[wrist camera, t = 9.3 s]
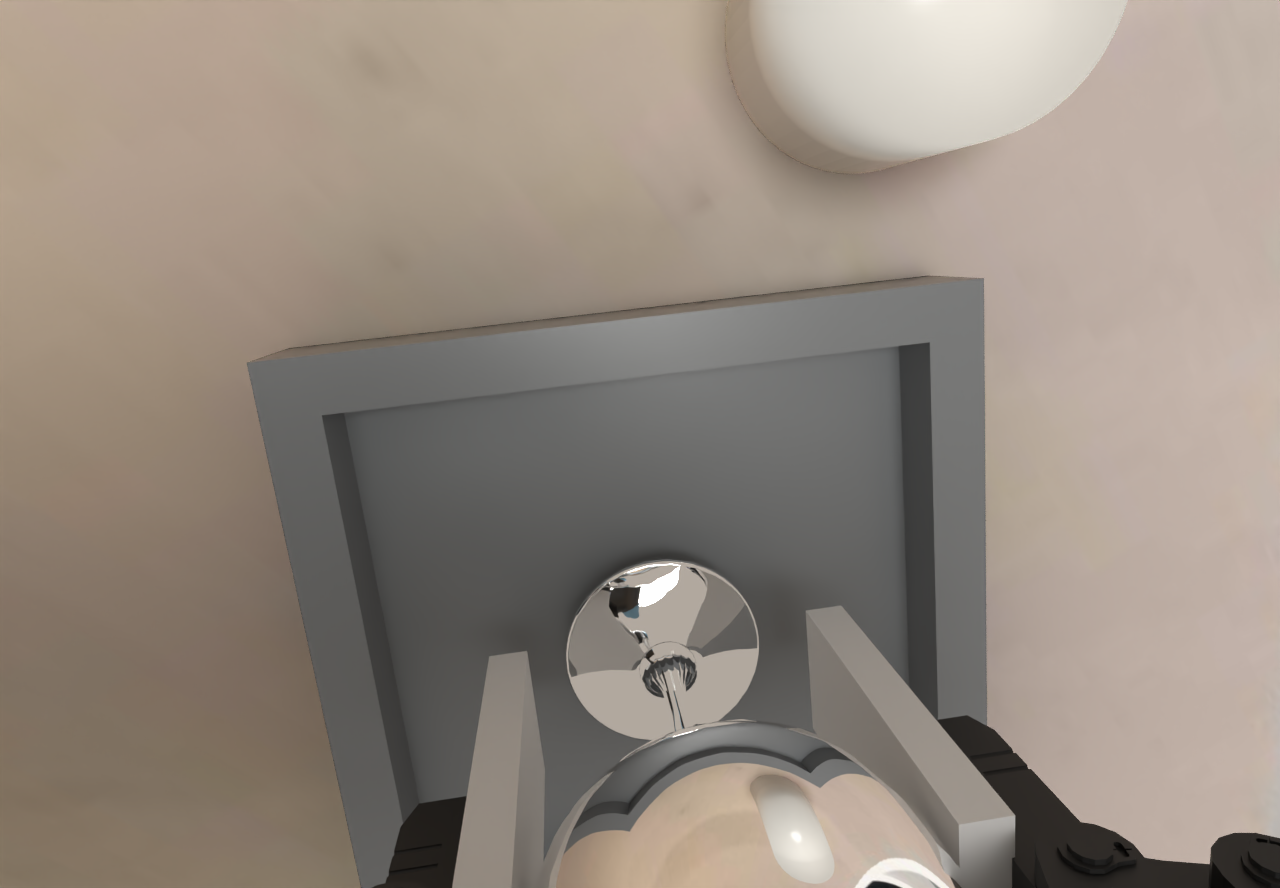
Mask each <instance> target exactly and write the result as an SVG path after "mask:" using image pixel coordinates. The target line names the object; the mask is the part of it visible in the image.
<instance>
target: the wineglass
mask: <svg viewBox="0 0 1280 888" xmlns="http://www.w3.org/2000/svg"><path fill="white" fill-rule="evenodd" d="M759 654H760V635H759V630H758V626H757V621H756V618H755V615H754V613H753V611H752V609H751V606H750V604H749V603H748V601H747V600H746V598H745V597H744V595H743V594H742V592H741V591H740V590H739V589H738V588H737V587H736V586H735V585H734V584H733V583H732V582H731V581H729V580H728V579H727V578H726V577H724V576H723V575H721V574H720V573H718V572H716V571H715V570H712V569H710V568H707V567H705V566H702V565H699V564H697V563H694V562H689V561H682V560H673V559H663V560H654V561H645V562H642V563H639V564H636V565H633V566H630V567H627V568H624V569H622V570H620V571H619V572H617V573H615V574H613V575H612V576H610V577H609V578H607V579H605V580H604V581H602V582H601V583H600V584H599V585H598V586H597V587H596V588H595V589H594V590H593V591H592V592H591V593H590V594H589V595H588V596H587V597H586V598H585V600H584V601H583V603H582V604H581V606H580V607H579V609H578V610H577V611H576V613H575V615H574V618H573V620H572V623H571V625H570V628H569V630H568V633H567V640H566V646H565V663H566V672H567V675H568V679H569V682H570V685H571V688H572V690H573V692H574V693H575V695H576V697H577V699H578V701H579V702H580V703H581V705H582V706H583V707H584V709H585V710H586V711H587V712H588V713H589V714H590V715H591V716H592V717H593V718H594V719H595V720H597V721H598V722H599V723H601V724H602V725H603V726H605V727H607V728H608V729H610V730H612V731H614V732H616V733H618V734H621V735H623V736H627V737H630V738H634V739H639V740H645V741H650V742H648V743H646V744H644V745H643V746H641V747H639V748H638V749H636V750H634V751H633V752H631V753H629V754H628V755H626V756H624V757H623V758H621V759H620V760H619V761H617V762H616V763H615V764H614V765H613V766H611V767H610V768H609V769H608V770H607V771H606V772H604V773H603V774H602V775H601V776H600V777H599V778H597V779H596V780H595V782H594V783H593V784H592V785H591V786H590V787H589V788H588V789H587V790H586V791H585V793H584V794H583V795H582V796H581V797H580V799H579V800H578V801H577V802H576V804H575V805H574V806H573V807H572V809H571V810H570V812H569V813H568V815H567V816H566V818H565V819H564V821H563V822H562V824H561V826H560V828H559V829H558V831H557V833H556V835H555V836H554V838H553V841H552V843H551V845H550V848H549V850H548V852H547V855H546V857H545V859H544V862H543V864H542V867H541V869H540V872H539V876H538V880H537V883H536V887H535V888H971V887H970V885H969V883H968V881H967V879H966V878H965V876H964V874H963V873H962V871H961V869H960V868H959V866H958V864H957V863H956V861H955V860H954V858H953V857H952V855H951V854H950V852H949V851H948V849H947V848H946V846H945V845H944V843H943V842H942V840H941V839H940V838H939V836H938V835H937V834H936V833H935V831H934V830H933V829H932V827H931V826H930V825H929V824H928V822H927V821H926V820H925V818H924V817H923V816H922V814H921V813H920V812H919V811H918V810H917V809H916V808H915V807H914V806H913V805H912V804H911V803H910V802H909V801H908V800H907V799H906V798H905V797H904V796H903V795H902V794H901V793H900V792H899V791H898V790H897V789H896V788H895V787H894V786H893V785H892V784H891V783H890V782H889V781H888V780H887V779H886V778H885V777H884V776H883V775H882V774H881V773H880V772H879V771H877V770H876V769H874V768H873V767H872V766H870V765H869V764H867V763H866V762H865V761H863V760H862V759H860V758H859V757H857V756H856V755H854V754H853V753H851V752H850V751H848V750H847V749H845V748H844V747H842V746H841V745H839V744H837V743H835V742H833V741H832V740H829V739H827V738H824V737H822V736H819V735H816V734H814V733H811V732H809V731H806V730H803V729H801V728H797V727H792V726H788V725H784V724H780V723H775V722H770V721H759V720H747V719H737V720H727V721H720V720H722V719H723V718H724V717H725V716H726V715H728V714H729V713H730V712H731V711H732V710H733V709H734V708H735V707H736V706H737V704H738V703H739V702H740V701H741V699H742V698H743V697H744V695H745V694H746V692H747V690H748V689H749V687H750V685H751V683H752V681H753V678H754V675H755V673H756V669H757V665H758V660H759Z"/></svg>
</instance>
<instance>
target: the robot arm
mask: <svg viewBox="0 0 1280 888" xmlns="http://www.w3.org/2000/svg"><path fill="white" fill-rule="evenodd" d="M806 625H807V641H808V657H809V673H810V689H811V705H812V721H813V729H814V731H815V732H816V734H817V735H819V736H822V737H824V738H827V739H829V740H832V741H833V742H835V743H837V744H839V745H841V746H842V747H844V748H845V749H847V750H848V751H850V752H851V753H853V754H854V755H856V756H857V757H859V758H860V759H862V760H863V761H865V762H866V763H867V764H869V765H870V766H872V767H873V768H874V769H876V770H877V771H879V772H880V773H881V774H882V775H883V776H884V777H885V778H886V779H887V780H888V781H889V782H890V783H891V784H892V785H893V786H894V787H895V788H896V789H897V790H898V791H899V792H900V793H901V794H902V795H903V796H904V797H905V798H906V799H907V800H908V801H909V802H910V803H911V804H912V805H913V806H914V807H915V808H916V809H917V810H918V811H919V812H920V813H921V814H922V816H923V817H924V818H925V820H926V821H927V822H928V824H929V825H930V826H931V827H932V829H933V830H934V831H935V833H936V834H937V835H938V836H939V838H940V839H941V840H942V842H943V843H944V845H945V846H946V848H947V849H948V851H949V852H950V854H951V855H952V857H953V858H954V860H955V861H956V863H957V864H958V866H959V868H960V869H961V871H962V873H963V874H964V876H965V878H966V879H967V881H968V883H969V885H970V887H971V888H1280V838H1276V837H1271V836H1267V835H1262V834H1258V833H1233V834H1230V835H1226V836H1223V837H1220V838H1218V840H1217V841H1216V842H1215V843H1214V845H1213V846H1212V847H1211V857H1210V864H1198V863H1186V862H1173V861H1161V860H1155V859H1148V858H1144V857H1143V855H1142V854H1141V853H1140V852H1139V851H1138V849H1137V848H1136V847H1135V846H1134V845H1133V844H1132V843H1131V842H1129V841H1128V840H1126V839H1125V838H1123V837H1122V836H1120V835H1119V834H1117V833H1116V832H1113V831H1111V830H1108V829H1105V828H1103V827H1100V826H1097V825H1095V824H1089V823H1082V822H1080V821H1079V820H1078V819H1077V818H1076V817H1075V816H1074V815H1073V814H1072V813H1071V812H1070V810H1069V809H1068V808H1067V807H1066V806H1065V805H1064V804H1063V803H1062V802H1061V801H1060V800H1059V799H1058V798H1057V797H1056V795H1055V794H1054V793H1053V792H1052V791H1051V790H1050V789H1049V788H1048V787H1047V786H1046V785H1045V784H1044V783H1043V782H1042V781H1041V779H1040V778H1039V777H1038V776H1037V775H1036V774H1035V773H1034V772H1033V771H1032V770H1031V769H1028V767H1027V764H1026V763H1025V762H1024V761H1023V760H1022V759H1021V758H1020V757H1019V756H1018V755H1017V754H1016V753H1013V751H1012V748H1011V747H1010V746H1009V745H1008V744H1007V743H1006V742H1005V741H1004V740H1003V739H1002V738H1001V737H1000V736H999V735H998V733H997V732H996V731H995V730H993V729H992V728H990V727H988V726H986V725H984V724H982V723H981V722H979V721H977V720H975V719H973V718H972V717H970V716H968V715H965V716H959V717H952V718H946V719H939V720H936V719H935V718H934V717H933V716H932V714H931V713H930V712H929V711H928V709H927V708H926V707H925V706H924V705H923V703H922V702H921V701H920V700H919V699H918V697H917V696H916V695H915V694H914V693H913V691H912V690H911V689H910V688H909V687H908V685H907V684H906V683H905V682H904V681H903V679H902V678H901V677H900V676H899V675H898V673H897V672H896V671H895V670H894V668H893V667H892V666H891V665H890V664H889V662H888V661H887V660H886V659H885V658H884V656H883V655H882V654H881V653H880V652H879V650H878V649H877V648H876V647H875V646H874V644H873V643H872V642H871V641H870V640H869V638H868V637H867V636H866V635H865V633H864V632H863V631H862V630H861V629H860V627H859V626H858V625H857V624H856V623H855V621H854V620H853V619H852V618H851V617H850V615H849V614H848V613H847V612H846V611H845V609H844V608H843V607H842V606H834V607H827V608H820V609H813V610H806ZM544 796H545V767H544V760H543V754H542V747H541V740H540V734H539V727H538V720H537V714H536V707H535V700H534V694H533V687H532V680H531V674H530V667H529V660H528V654H527V651H522V652H516V653H509V654H502V655H495V656H489V661H488V667H487V673H486V680H485V686H484V692H483V698H482V705H481V711H480V717H479V723H478V729H477V736H476V742H475V748H474V754H473V761H472V767H471V773H470V779H469V785H468V792H467V796H463V797H457V798H451V799H444V800H438V801H432V802H425V803H419V804H418V805H417V807H416V808H415V809H414V810H413V812H412V813H411V814H410V815H409V817H408V818H407V819H406V821H405V822H404V823H403V824H402V826H401V827H400V831H399V834H398V838H397V842H396V846H395V849H394V856H393V857H392V860H391V864H390V868H389V876H388V877H387V879H386V883H384V884H380V885H376V886H374V887H372V888H535V887H536V883H537V880H538V876H539V872H540V869H541V867H542V864H543V857H544Z"/></svg>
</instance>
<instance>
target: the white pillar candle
mask: <svg viewBox="0 0 1280 888" xmlns="http://www.w3.org/2000/svg"><path fill="white" fill-rule="evenodd" d="M1126 4H1127V0H728V4H727V11H726V21H725V46H726V54H727V61H728V66H729V70H730V74H731V78H732V81H733V84H734V87H735V89H736V92H737V94H738V97H739V99H740V101H741V103H742V105H743V107H744V109H745V110H746V112H747V114H748V116H749V117H750V118H751V120H752V121H753V123H754V124H755V125H756V127H757V128H758V129H759V131H760V132H761V133H762V134H763V135H764V136H765V137H766V138H767V139H768V140H769V141H770V142H771V143H772V144H773V145H775V146H776V147H777V148H778V149H780V150H781V151H782V152H784V153H785V154H787V155H788V156H790V157H792V158H793V159H795V160H797V161H799V162H801V163H803V164H806V165H808V166H810V167H813V168H816V169H820V170H824V171H828V172H833V173H843V174H858V173H868V172H873V171H879V170H883V169H886V168H890V167H894V166H897V165H901V164H905V163H909V162H912V161H916V160H920V159H923V158H927V157H931V156H934V155H938V154H942V153H945V152H949V151H953V150H956V149H960V148H964V147H967V146H971V145H975V144H979V143H982V142H986V141H990V140H993V139H996V138H999V137H1002V136H1005V135H1008V134H1011V133H1014V132H1016V131H1018V130H1020V129H1022V128H1024V127H1026V126H1028V125H1030V124H1032V123H1034V122H1036V121H1037V120H1039V119H1040V118H1042V117H1043V116H1045V115H1046V114H1048V113H1049V112H1051V111H1052V110H1053V109H1055V108H1056V107H1057V106H1058V105H1059V104H1061V103H1062V102H1063V101H1064V100H1065V99H1066V98H1068V97H1069V96H1070V95H1071V94H1072V93H1073V92H1074V91H1075V90H1076V89H1077V87H1078V86H1079V85H1080V84H1081V83H1082V82H1083V81H1084V80H1085V79H1086V78H1087V76H1088V75H1089V74H1090V72H1091V71H1092V70H1093V68H1094V67H1095V66H1096V64H1097V63H1098V61H1099V60H1100V59H1101V57H1102V55H1103V54H1104V52H1105V50H1106V48H1107V47H1108V45H1109V43H1110V41H1111V40H1112V38H1113V36H1114V34H1115V32H1116V29H1117V27H1118V25H1119V22H1120V20H1121V18H1122V16H1123V13H1124V10H1125V7H1126Z"/></svg>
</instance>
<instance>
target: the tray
mask: <svg viewBox="0 0 1280 888" xmlns="http://www.w3.org/2000/svg"><path fill="white" fill-rule="evenodd" d="M247 366H248V371H249V375H250V380H251V385H252V389H253V394H254V398H255V403H256V407H257V412H258V417H259V421H260V426H261V430H262V435H263V440H264V444H265V449H266V453H267V458H268V462H269V467H270V472H271V476H272V481H273V485H274V490H275V495H276V499H277V504H278V508H279V513H280V518H281V522H282V527H283V531H284V536H285V540H286V545H287V550H288V554H289V559H290V563H291V568H292V573H293V577H294V582H295V586H296V591H297V595H298V600H299V605H300V609H301V614H302V618H303V623H304V628H305V632H306V637H307V641H308V646H309V650H310V655H311V660H312V664H313V669H314V673H315V678H316V683H317V687H318V692H319V696H320V701H321V705H322V710H323V715H324V719H325V724H326V728H327V733H328V738H329V742H330V747H331V751H332V756H333V761H334V765H335V770H336V774H337V779H338V783H339V788H340V793H341V797H342V802H343V806H344V811H345V816H346V820H347V825H348V829H349V834H350V838H351V843H352V848H353V852H354V857H355V861H356V866H357V871H358V875H359V880H360V884H361V888H372V887H374V886H376V885H380V884H384V883H386V879H387V877H388V876H389V868H390V864H391V860H392V857H393V856H394V849H395V846H396V842H397V838H398V834H399V831H400V827H401V826H402V824H403V823H404V822H405V821H406V819H407V818H408V817H409V815H410V814H411V813H412V812H413V810H414V809H415V808H416V807H417V805H418V804H419V803H425V802H432V801H438V800H444V799H451V798H457V797H463V796H467V792H468V785H469V779H470V773H471V767H472V761H473V754H474V748H475V742H476V736H477V729H478V723H479V717H480V711H481V705H482V698H483V692H484V686H485V680H486V673H487V667H488V661H489V656H495V655H502V654H509V653H516V652H522V651H527V654H528V660H529V667H530V674H531V680H532V687H533V694H534V700H535V707H536V714H537V720H538V727H539V734H540V740H541V747H542V754H543V760H544V767H545V796H544V857H543V862H544V859H545V857H546V855H547V852H548V850H549V848H550V845H551V843H552V841H553V838H554V836H555V835H556V833H557V831H558V829H559V828H560V826H561V824H562V822H563V821H564V819H565V818H566V816H567V815H568V813H569V812H570V810H571V809H572V807H573V806H574V805H575V804H576V802H577V801H578V800H579V799H580V797H581V796H582V795H583V794H584V793H585V791H586V790H587V789H588V788H589V787H590V786H591V785H592V784H593V783H594V782H595V780H596V779H597V778H599V777H600V776H601V775H602V774H603V773H604V772H606V771H607V770H608V769H609V768H610V767H611V766H613V765H614V764H615V763H616V762H617V761H619V760H620V759H621V758H623V757H624V756H626V755H628V754H629V753H631V752H633V751H634V750H636V749H638V748H639V747H641V746H643V745H644V744H646V743H648V742H650V741H645V740H639V739H634V738H630V737H627V736H623V735H621V734H618V733H616V732H614V731H612V730H610V729H608V728H607V727H605V726H603V725H602V724H601V723H599V722H598V721H597V720H595V719H594V718H593V717H592V716H591V715H590V714H589V713H588V712H587V711H586V710H585V709H584V707H583V706H582V705H581V703H580V702H579V701H578V699H577V697H576V695H575V693H574V692H573V690H572V688H571V685H570V682H569V679H568V675H567V672H566V663H565V646H566V640H567V633H568V630H569V628H570V625H571V623H572V620H573V618H574V615H575V613H576V611H577V610H578V609H579V607H580V606H581V604H582V603H583V601H584V600H585V598H586V597H587V596H588V595H589V594H590V593H591V592H592V591H593V590H594V589H595V588H596V587H597V586H598V585H599V584H600V583H601V582H602V581H604V580H605V579H607V578H609V577H610V576H612V575H613V574H615V573H617V572H619V571H620V570H622V569H624V568H627V567H630V566H633V565H636V564H639V563H642V562H645V561H654V560H663V559H673V560H682V561H689V562H694V563H697V564H699V565H702V566H705V567H707V568H710V569H712V570H715V571H716V572H718V573H720V574H721V575H723V576H724V577H726V578H727V579H728V580H729V581H731V582H732V583H733V584H734V585H735V586H736V587H737V588H738V589H739V590H740V591H741V592H742V594H743V595H744V597H745V598H746V600H747V601H748V603H749V604H750V606H751V609H752V611H753V613H754V615H755V618H756V621H757V626H758V630H759V635H760V654H759V660H758V665H757V669H756V673H755V675H754V678H753V681H752V683H751V685H750V687H749V689H748V690H747V692H746V694H745V695H744V697H743V698H742V699H741V701H740V702H739V703H738V704H737V706H736V707H735V708H734V709H733V710H732V711H731V712H730V713H729V714H728V715H726V716H725V717H724V718H723V719H722V720H720V721H727V720H737V719H747V720H759V721H770V722H775V723H780V724H784V725H788V726H792V727H797V728H801V729H803V730H806V731H809V732H811V733H814V734H816V732H815V731H814V729H813V721H812V705H811V689H810V673H809V657H808V641H807V625H806V610H813V609H820V608H827V607H834V606H842V607H843V608H844V609H845V611H846V612H847V613H848V614H849V615H850V617H851V618H852V619H853V620H854V621H855V623H856V624H857V625H858V626H859V627H860V629H861V630H862V631H863V632H864V633H865V635H866V636H867V637H868V638H869V640H870V641H871V642H872V643H873V644H874V646H875V647H876V648H877V649H878V650H879V652H880V653H881V654H882V655H883V656H884V658H885V659H886V660H887V661H888V662H889V664H890V665H891V666H892V667H893V668H894V670H895V671H896V672H897V673H898V675H899V676H900V677H901V678H902V679H903V681H904V682H905V683H906V684H907V685H908V687H909V688H910V689H911V690H912V691H913V693H914V694H915V695H916V696H917V697H918V699H919V700H920V701H921V702H922V703H923V705H924V706H925V707H926V708H927V709H928V711H929V712H930V713H931V714H932V716H933V717H934V718H935V719H936V720H939V719H946V718H952V717H959V716H965V715H968V716H970V717H972V718H973V719H975V720H977V721H979V722H981V723H982V724H984V725H986V726H987V683H986V532H985V381H984V278H965V277H944V276H922V277H913V278H904V279H895V280H886V281H878V282H869V283H860V284H851V285H842V286H834V287H825V288H816V289H807V290H798V291H790V292H781V293H772V294H763V295H754V296H746V297H737V298H728V299H719V300H710V301H702V302H693V303H684V304H675V305H666V306H658V307H649V308H640V309H631V310H622V311H614V312H605V313H596V314H587V315H578V316H570V317H561V318H552V319H543V320H534V321H526V322H517V323H508V324H499V325H490V326H482V327H473V328H464V329H455V330H446V331H438V332H429V333H420V334H411V335H402V336H394V337H385V338H376V339H367V340H358V341H350V342H341V343H332V344H323V345H314V346H306V347H297V348H288V349H286V350H283V351H280V352H277V353H274V354H271V355H268V356H265V357H262V358H259V359H256V360H253V361H250V362H248V363H247ZM816 735H817V734H816Z"/></svg>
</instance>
